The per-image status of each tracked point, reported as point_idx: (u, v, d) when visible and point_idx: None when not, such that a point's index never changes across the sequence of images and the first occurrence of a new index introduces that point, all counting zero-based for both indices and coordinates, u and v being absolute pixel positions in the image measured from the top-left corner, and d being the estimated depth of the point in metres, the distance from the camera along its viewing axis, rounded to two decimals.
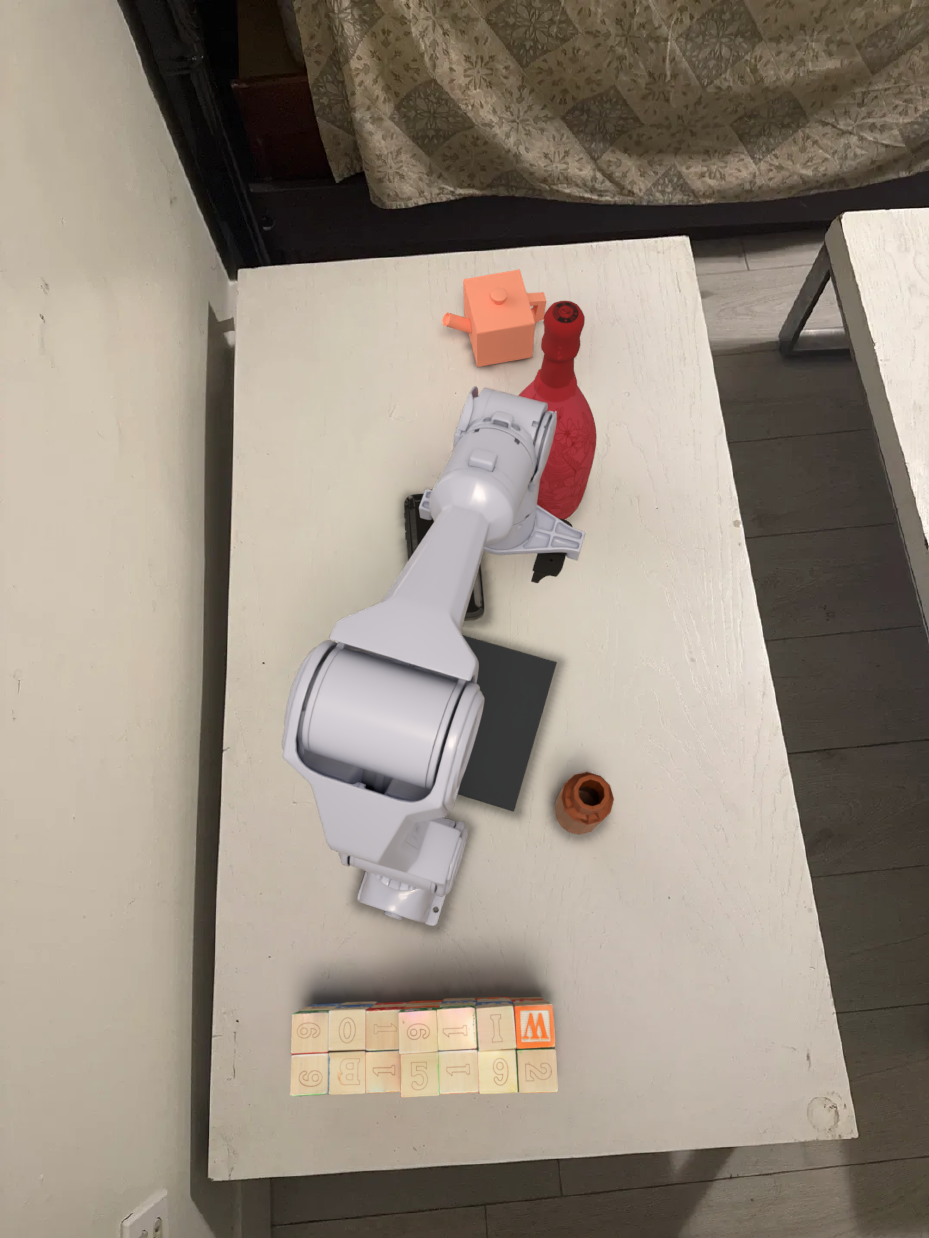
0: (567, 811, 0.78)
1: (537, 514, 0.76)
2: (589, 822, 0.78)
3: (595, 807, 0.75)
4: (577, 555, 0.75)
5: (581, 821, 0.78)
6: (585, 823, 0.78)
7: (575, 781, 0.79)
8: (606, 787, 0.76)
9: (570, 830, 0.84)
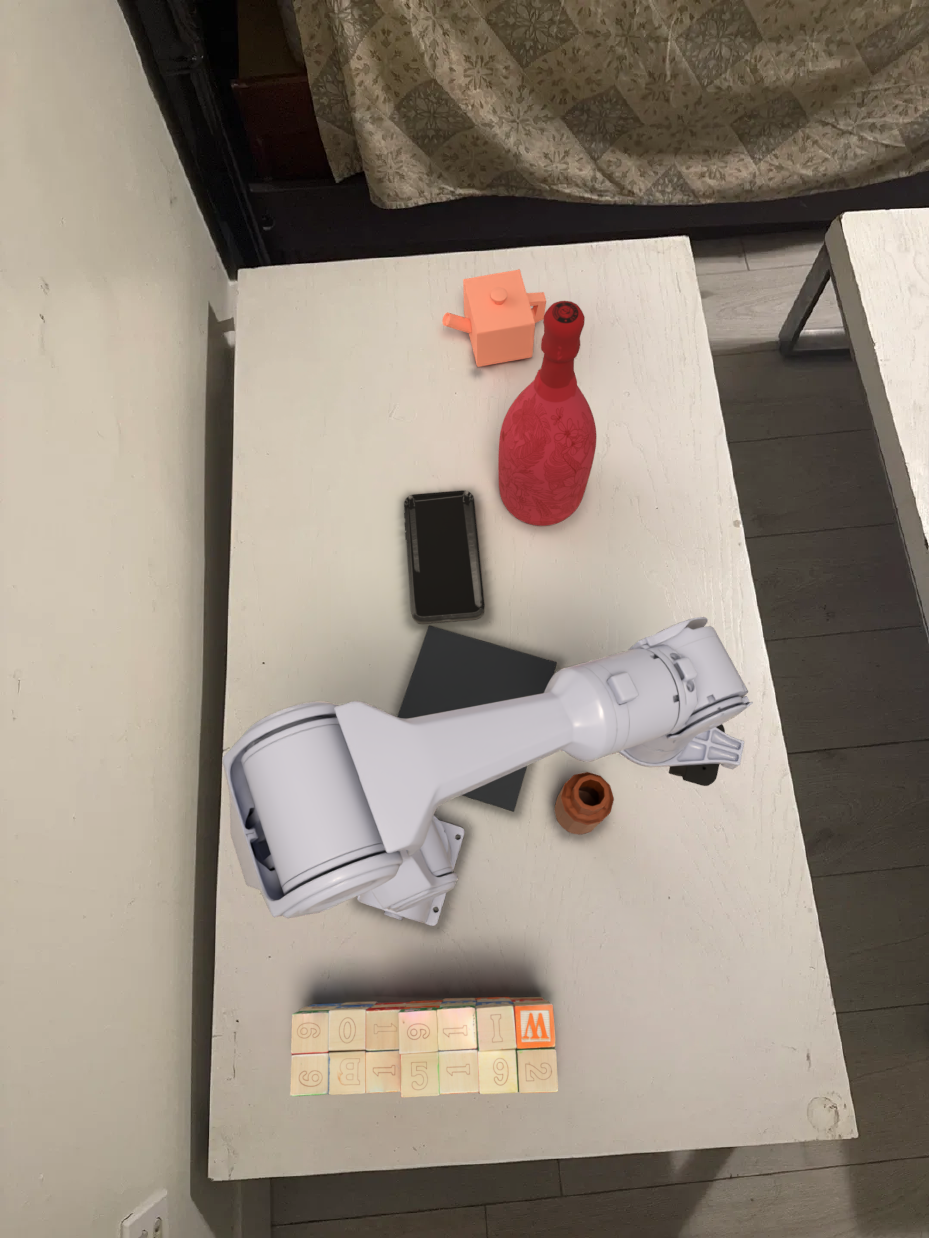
0: (567, 811, 0.78)
1: None
2: (589, 822, 0.78)
3: (595, 807, 0.75)
4: (735, 766, 0.68)
5: (581, 821, 0.78)
6: (585, 823, 0.78)
7: (575, 781, 0.79)
8: (606, 787, 0.76)
9: (570, 830, 0.84)
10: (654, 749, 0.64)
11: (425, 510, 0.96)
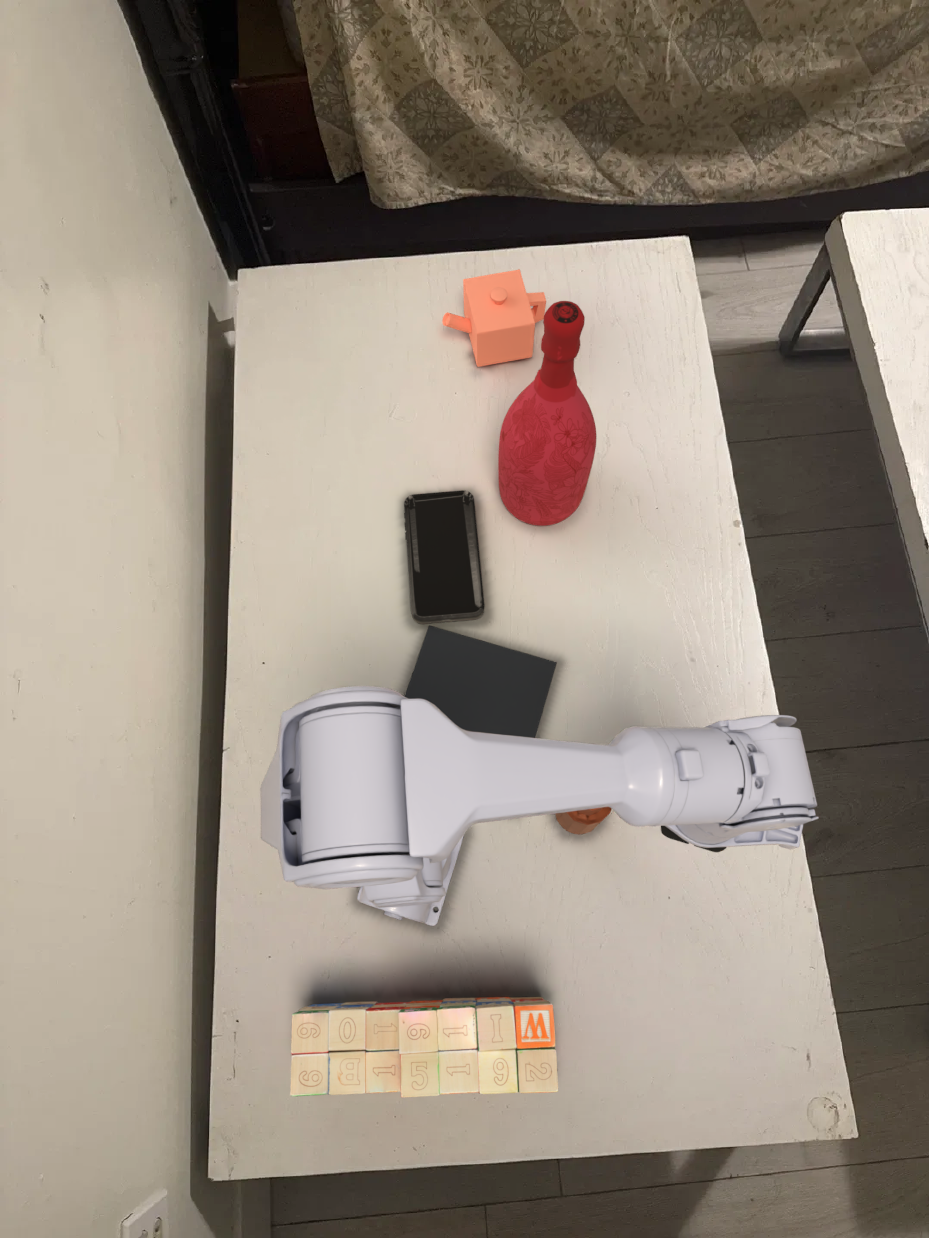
0: None
1: None
2: (589, 822, 0.78)
3: None
4: (794, 847, 0.66)
5: (581, 821, 0.78)
6: (585, 823, 0.78)
7: None
8: None
9: (570, 830, 0.84)
10: (703, 830, 0.61)
11: (425, 510, 0.96)
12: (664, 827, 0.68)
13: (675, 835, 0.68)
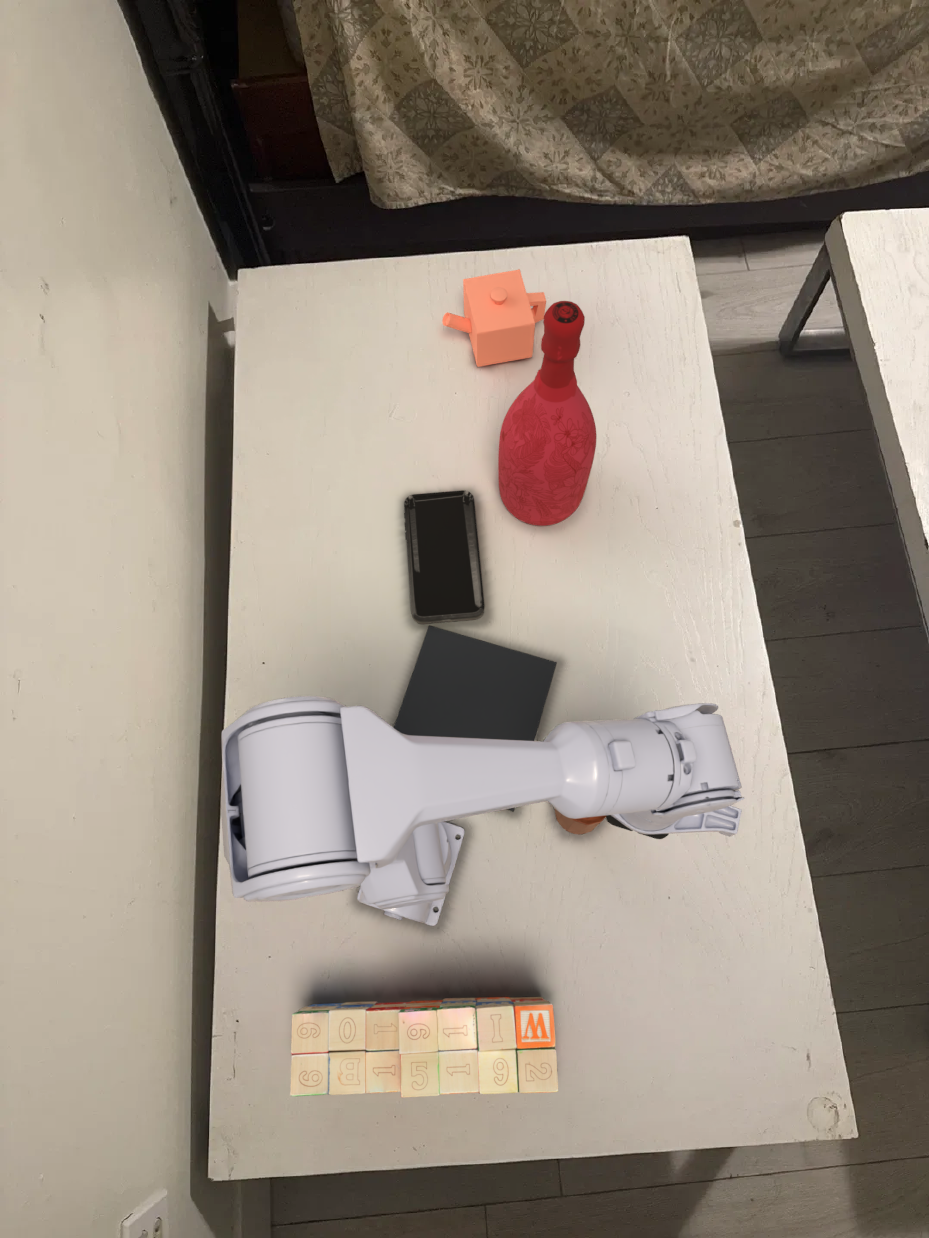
0: None
1: None
2: (589, 822, 0.78)
3: None
4: (732, 834, 0.69)
5: (581, 821, 0.78)
6: (585, 823, 0.78)
7: None
8: None
9: (570, 830, 0.84)
10: (643, 818, 0.64)
11: (425, 510, 0.96)
12: (609, 815, 0.71)
13: (619, 822, 0.70)
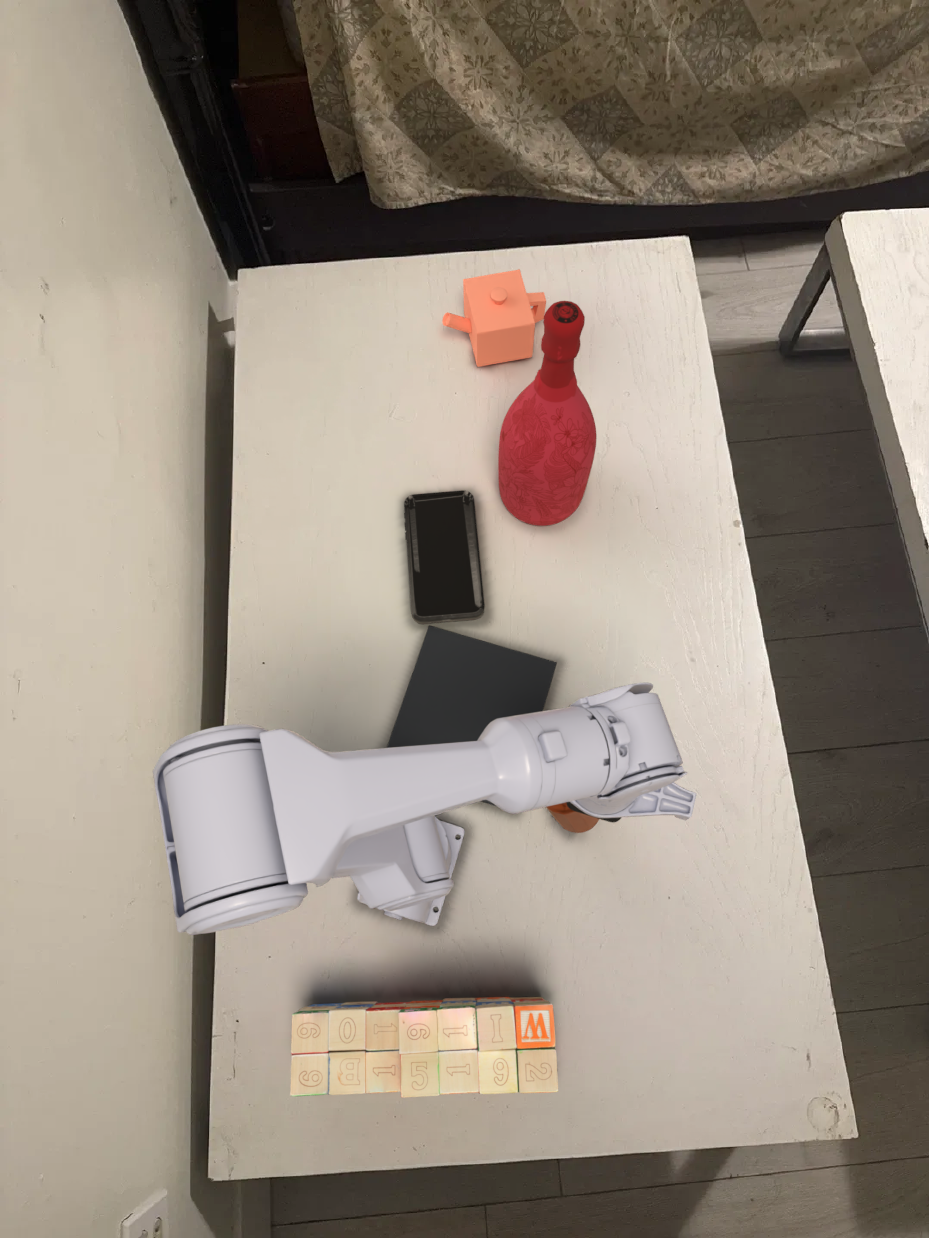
0: None
1: None
2: (566, 812, 0.77)
3: None
4: (687, 818, 0.69)
5: (558, 811, 0.78)
6: (562, 813, 0.78)
7: None
8: None
9: (566, 827, 0.83)
10: (597, 803, 0.64)
11: (425, 510, 0.96)
12: None
13: None
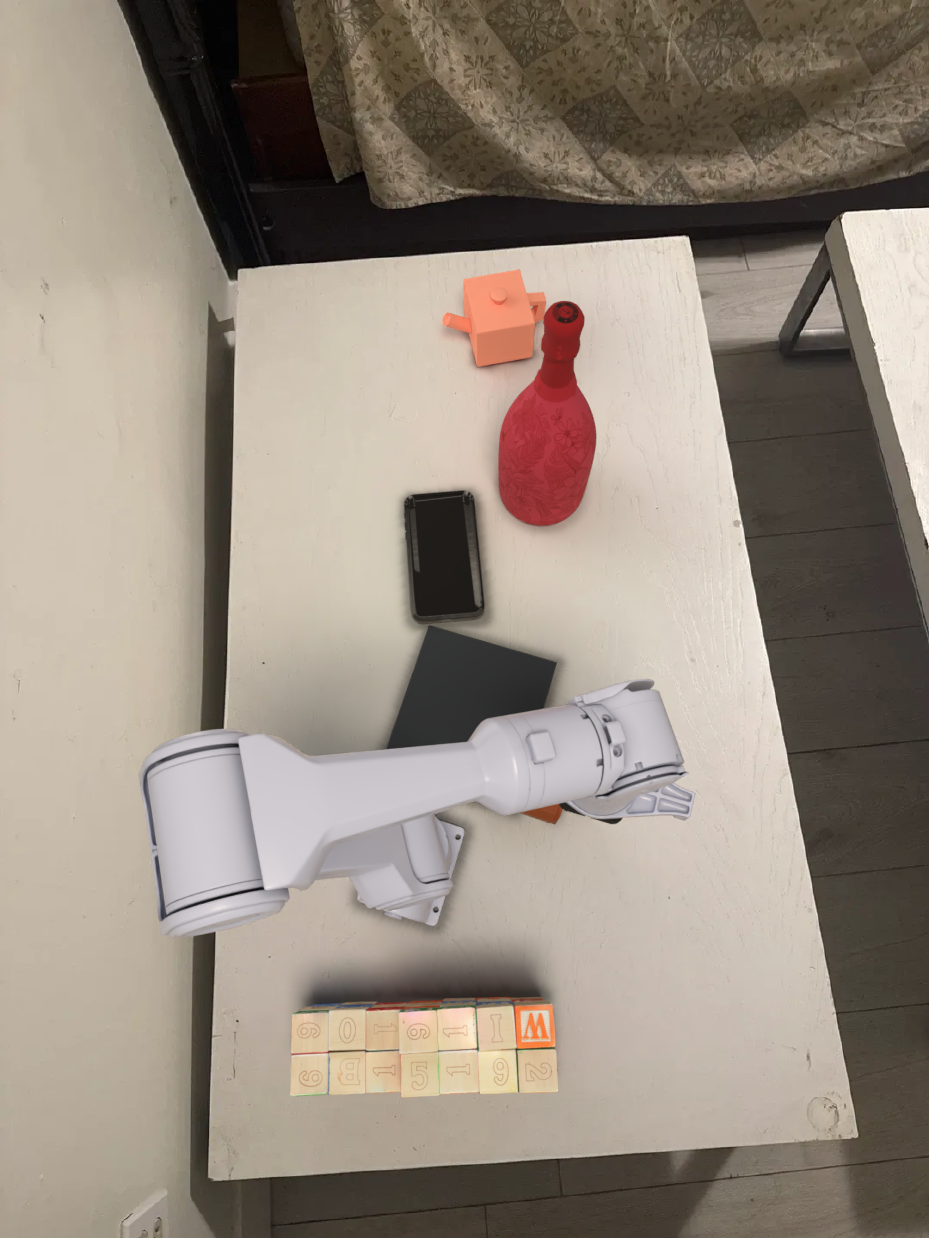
0: None
1: None
2: None
3: None
4: (686, 818, 0.67)
5: None
6: None
7: None
8: None
9: (539, 819, 0.83)
10: (594, 803, 0.62)
11: (425, 510, 0.96)
12: None
13: (572, 808, 0.69)
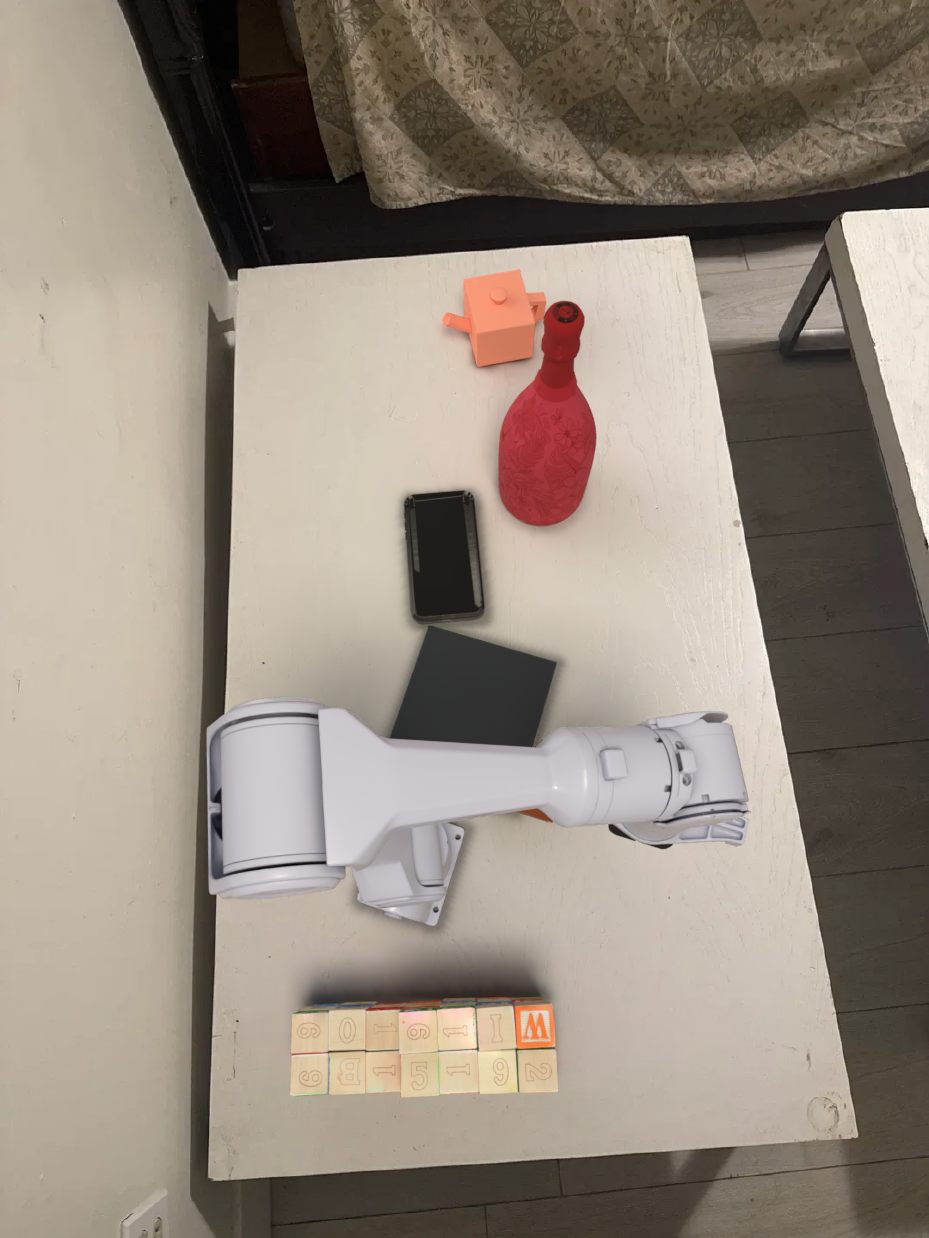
0: None
1: None
2: None
3: None
4: (739, 844, 0.66)
5: None
6: None
7: None
8: None
9: None
10: (645, 827, 0.62)
11: (425, 510, 0.96)
12: (611, 824, 0.68)
13: (622, 832, 0.68)
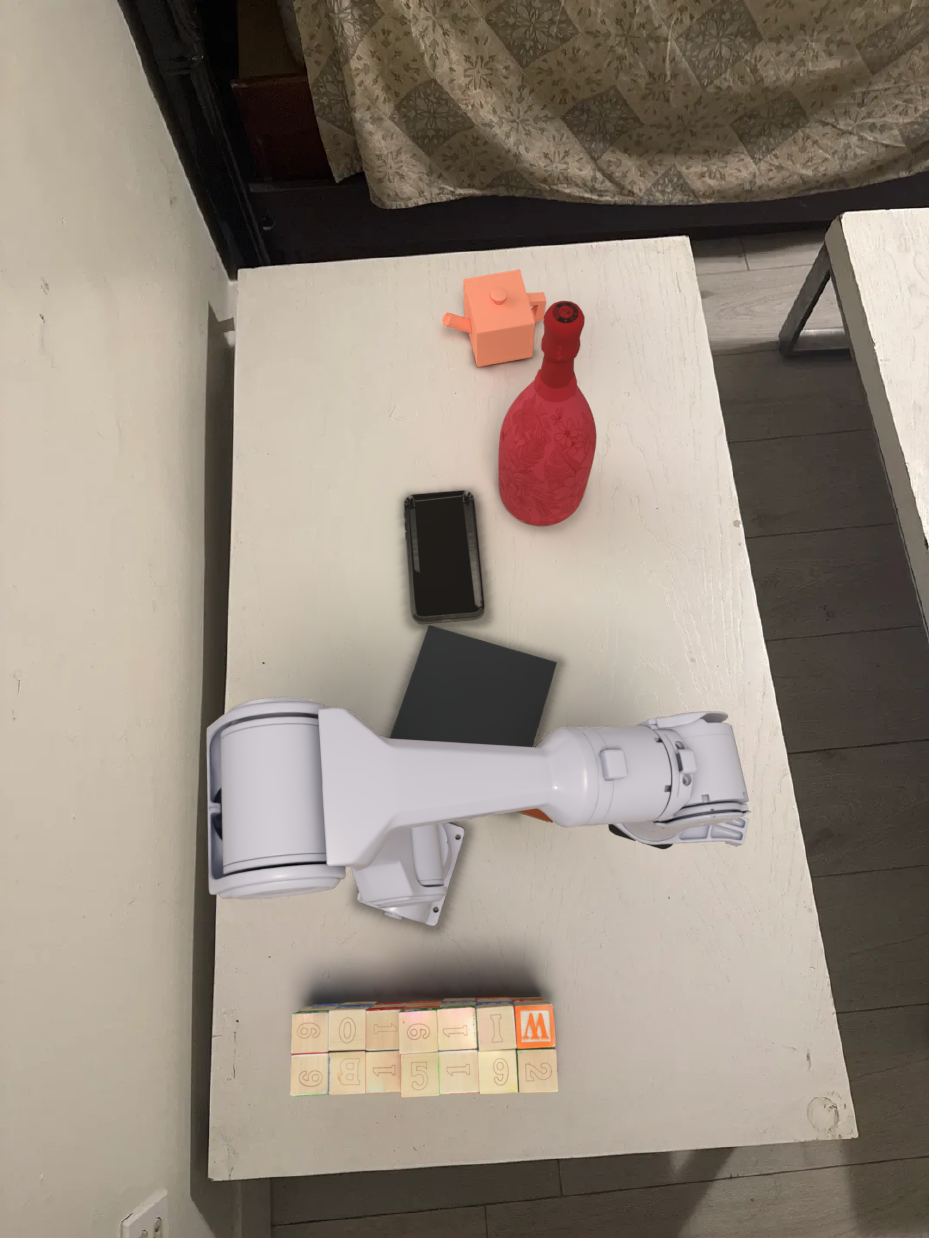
0: None
1: None
2: None
3: None
4: (739, 844, 0.66)
5: None
6: None
7: None
8: None
9: None
10: (645, 827, 0.62)
11: (425, 510, 0.96)
12: (611, 824, 0.68)
13: (622, 832, 0.68)
